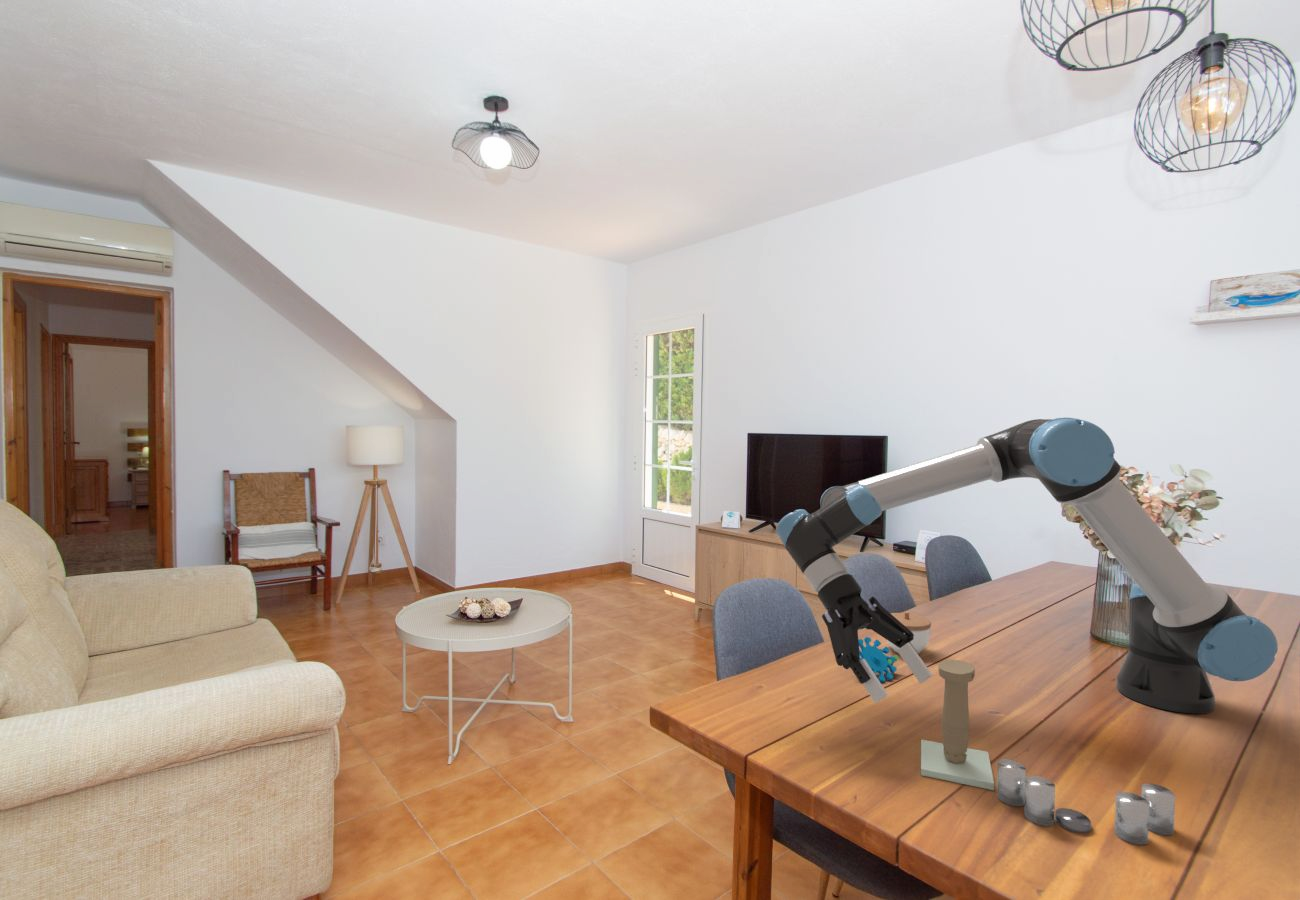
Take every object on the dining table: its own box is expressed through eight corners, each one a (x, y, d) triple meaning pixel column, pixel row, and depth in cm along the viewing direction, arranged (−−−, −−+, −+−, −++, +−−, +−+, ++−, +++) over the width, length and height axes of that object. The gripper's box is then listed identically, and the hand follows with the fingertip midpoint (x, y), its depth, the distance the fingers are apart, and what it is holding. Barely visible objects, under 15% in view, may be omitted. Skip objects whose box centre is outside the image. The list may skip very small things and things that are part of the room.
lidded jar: (881, 655, 148) (882, 616, 147) (883, 640, 158) (883, 604, 157) (931, 661, 144) (932, 621, 143) (929, 646, 154) (930, 608, 153)
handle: (931, 761, 99) (933, 667, 98) (946, 746, 103) (948, 657, 103) (963, 773, 95) (965, 676, 95) (978, 757, 100) (979, 665, 99)
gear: (863, 678, 130) (849, 634, 136) (849, 690, 134) (836, 646, 141) (909, 680, 132) (892, 637, 139) (894, 692, 136) (879, 649, 143)
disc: (1083, 819, 86) (1084, 811, 86) (1095, 837, 82) (1095, 829, 82) (1050, 814, 87) (1051, 805, 87) (1060, 832, 83) (1061, 823, 83)
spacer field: (1168, 822, 85) (1169, 787, 85) (1190, 859, 78) (1192, 820, 78) (995, 787, 93) (996, 754, 93) (1001, 816, 86) (1002, 781, 86)
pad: (987, 757, 102) (987, 751, 102) (994, 790, 93) (994, 783, 92) (921, 745, 106) (921, 739, 106) (920, 775, 97) (920, 768, 97)
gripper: (860, 584, 127) (929, 681, 115) (777, 605, 112) (846, 718, 101) (884, 563, 122) (958, 662, 111) (800, 581, 108) (876, 697, 96)
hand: (905, 689), depth 106 cm, fingers open, 13 cm apart
